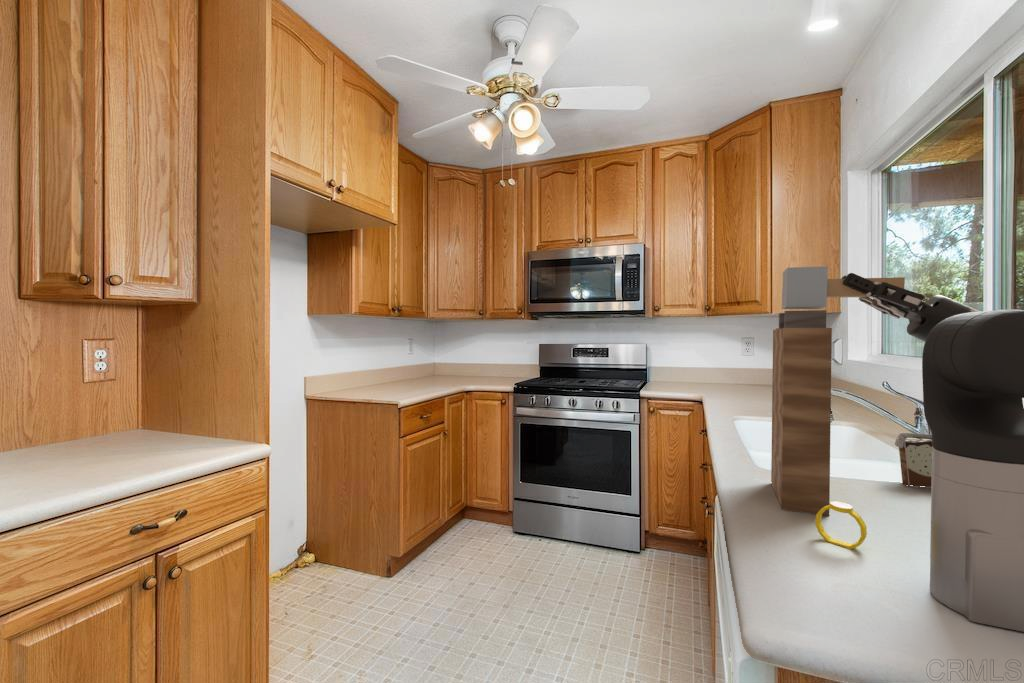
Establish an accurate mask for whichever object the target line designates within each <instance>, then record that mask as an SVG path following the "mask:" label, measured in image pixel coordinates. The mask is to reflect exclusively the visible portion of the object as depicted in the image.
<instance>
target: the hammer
mask: <svg viewBox="0 0 1024 683" xmlns="http://www.w3.org/2000/svg"><path fill="white" fill-rule="evenodd" d="M828 272H829V266H824V265H823V266H804V267H803V266H799V267H794V266H792V267H787V268H786V269H784V271H782V285H781V286H782V289H781V310H822V309H824V308H827V301H828V300H827V299H828V298H831V299H832V298H859V297H868V296H867V295H865V294H866V293H867V292H866V293H865V294H863V293H861V292H859V291H857V290H854V289H852V288H850V287H847V286H845V285H843V281H844V279H841V278H828V275H829V274H828ZM864 278H865V279H868V280H870V281H872V282H873V283H874V282H880V283H882V282H886V283H888V284H891V285H894V286H897V287H900V288H903V289H905V287H906V286H905V284H906V283H905V282H906V277H903V276H902V277H901V276H900V277H898V276H897V277H864ZM894 293H895V292H894Z"/></svg>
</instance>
